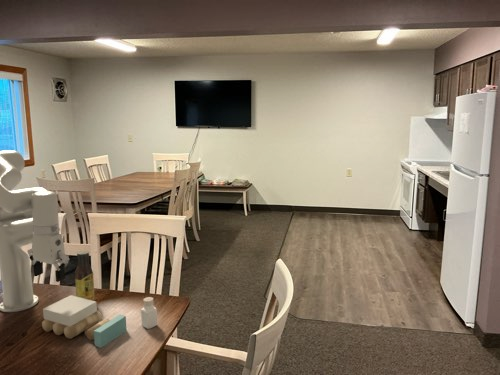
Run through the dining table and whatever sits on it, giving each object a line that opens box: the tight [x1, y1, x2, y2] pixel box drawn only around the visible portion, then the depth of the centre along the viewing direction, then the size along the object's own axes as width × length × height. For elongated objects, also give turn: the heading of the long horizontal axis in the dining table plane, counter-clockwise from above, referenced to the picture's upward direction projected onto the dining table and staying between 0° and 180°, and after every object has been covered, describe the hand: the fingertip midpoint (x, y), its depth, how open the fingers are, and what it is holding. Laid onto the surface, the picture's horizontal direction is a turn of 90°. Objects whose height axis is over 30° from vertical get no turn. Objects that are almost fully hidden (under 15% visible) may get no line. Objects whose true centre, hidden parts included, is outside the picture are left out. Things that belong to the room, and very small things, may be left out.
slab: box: [42, 294, 98, 327], centre depth 131 cm, size 12×11×4 cm
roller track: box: [41, 309, 103, 340], centre depth 129 cm, size 22×12×4 cm, turn 65°
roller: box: [86, 318, 111, 341], centre depth 126 cm, size 7×4×4 cm, turn 156°
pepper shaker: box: [140, 296, 158, 330], centre depth 131 cm, size 4×4×10 cm
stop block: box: [94, 314, 127, 348], centre depth 124 cm, size 2×11×5 cm, turn 155°
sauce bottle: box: [74, 250, 95, 301], centre depth 146 cm, size 7×6×20 cm
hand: (49, 277), depth 133 cm, fingers open, 9 cm apart
